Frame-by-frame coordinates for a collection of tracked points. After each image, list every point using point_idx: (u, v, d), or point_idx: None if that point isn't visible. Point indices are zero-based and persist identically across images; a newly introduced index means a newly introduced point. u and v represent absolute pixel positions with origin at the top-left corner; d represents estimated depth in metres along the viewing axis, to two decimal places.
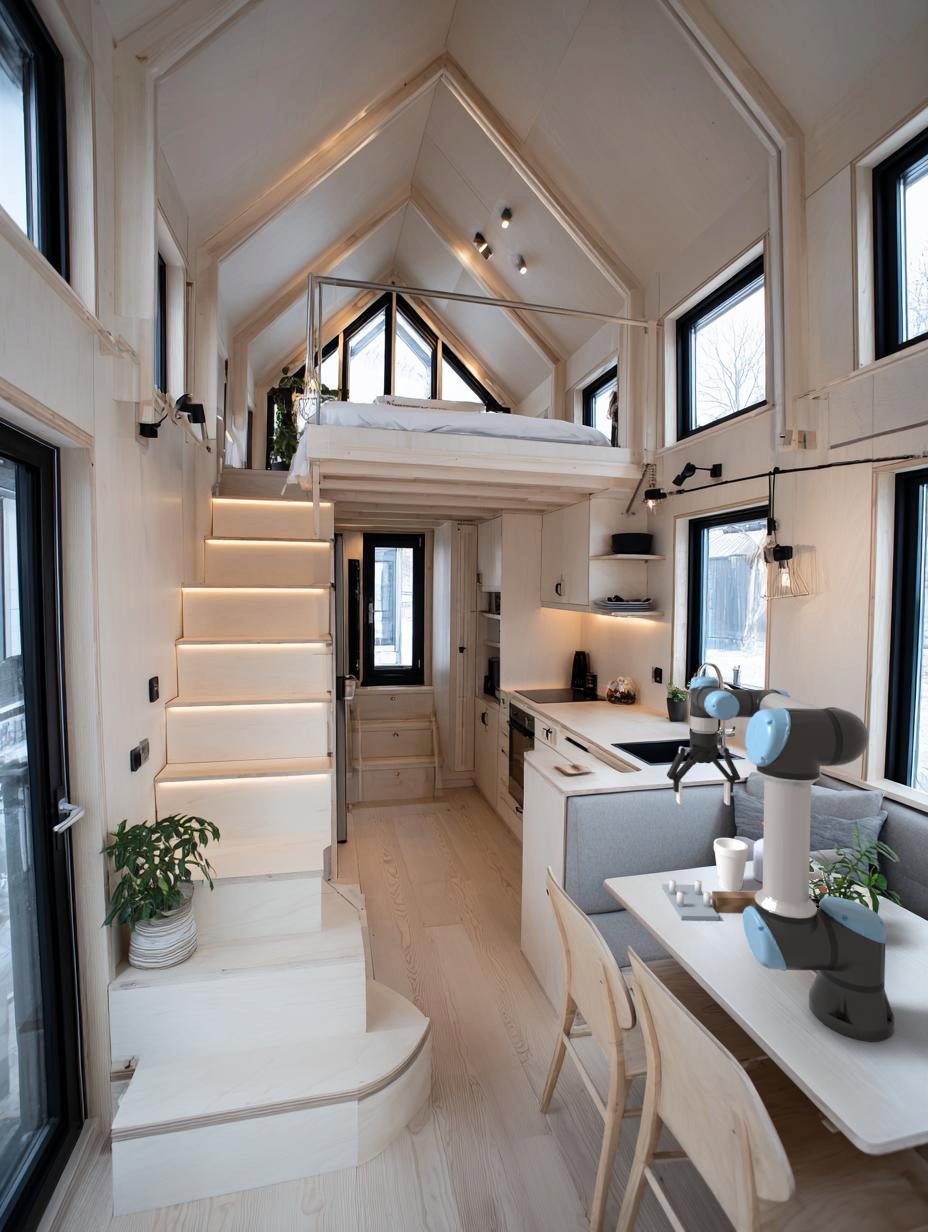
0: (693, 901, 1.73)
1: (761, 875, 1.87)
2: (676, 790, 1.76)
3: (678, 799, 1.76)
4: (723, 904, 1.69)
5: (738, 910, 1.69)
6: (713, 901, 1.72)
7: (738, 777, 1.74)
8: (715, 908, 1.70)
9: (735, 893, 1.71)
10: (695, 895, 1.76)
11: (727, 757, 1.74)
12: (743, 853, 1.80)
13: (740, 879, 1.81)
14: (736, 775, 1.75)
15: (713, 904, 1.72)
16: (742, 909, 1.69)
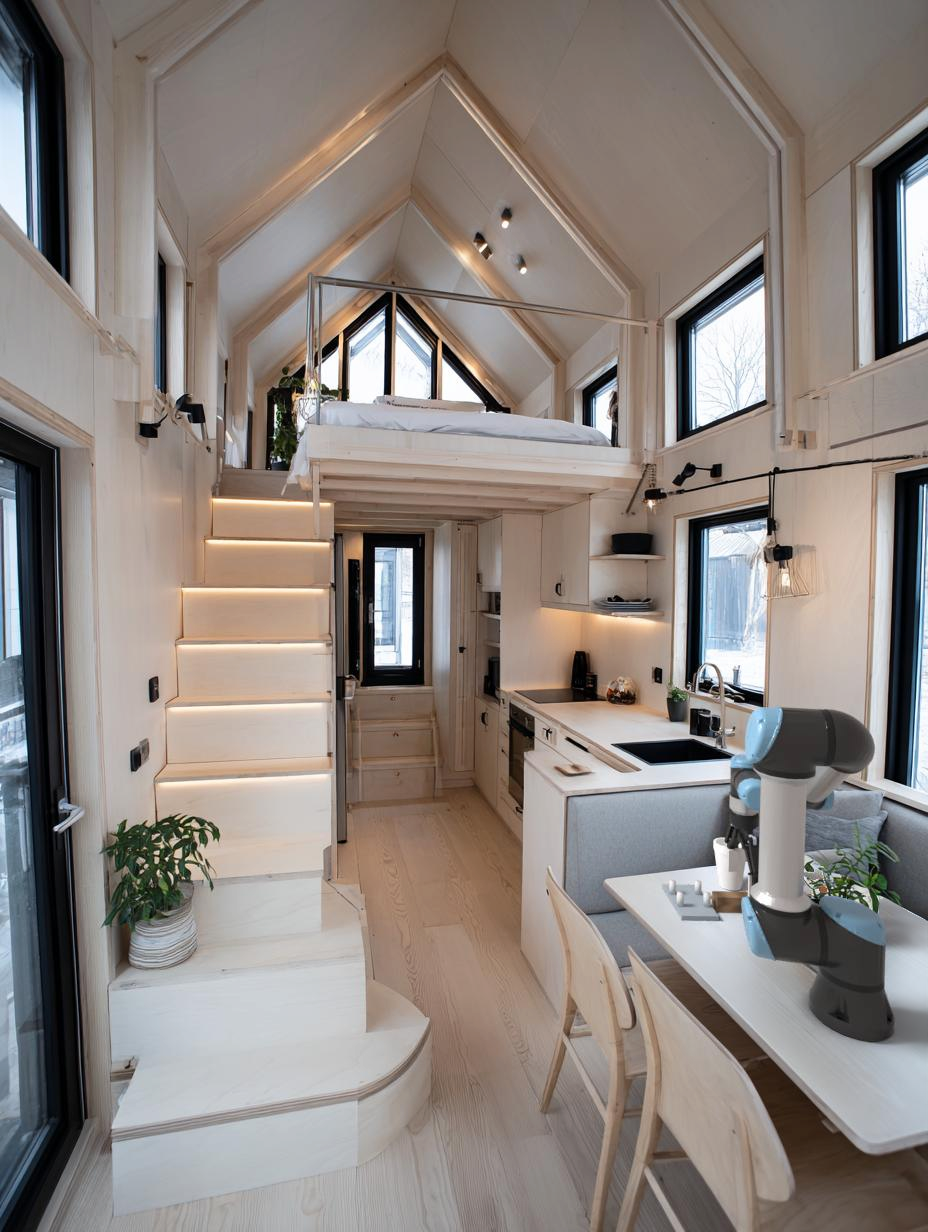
0: (693, 901, 1.73)
1: None
2: None
3: None
4: (723, 904, 1.69)
5: (738, 910, 1.69)
6: (713, 901, 1.72)
7: (754, 873, 1.62)
8: (715, 908, 1.70)
9: (735, 893, 1.71)
10: (695, 895, 1.76)
11: (749, 846, 1.64)
12: (742, 852, 1.81)
13: (740, 878, 1.82)
14: (753, 870, 1.62)
15: (713, 904, 1.72)
16: None
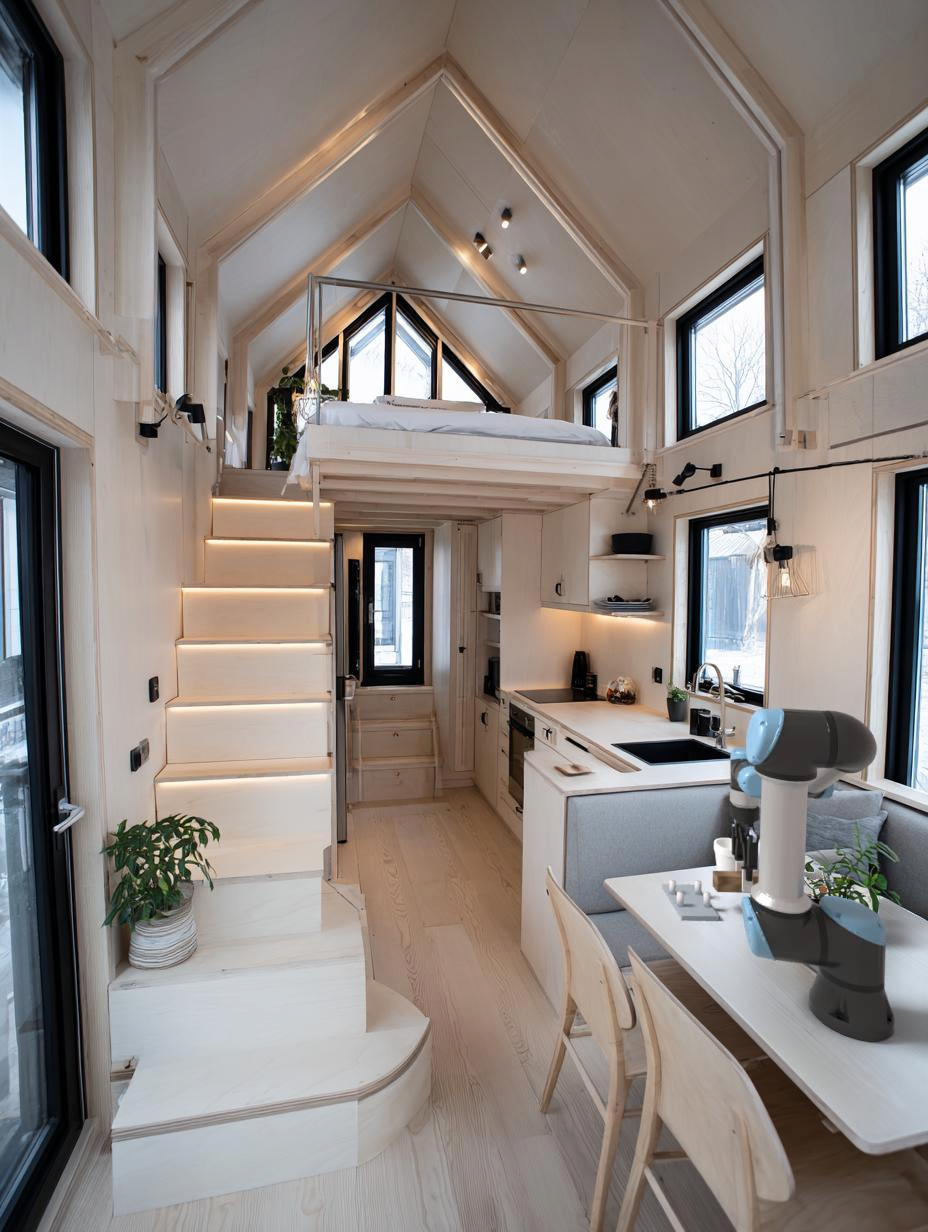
0: (693, 901, 1.73)
1: None
2: None
3: None
4: (724, 883, 1.68)
5: (739, 889, 1.68)
6: (714, 880, 1.71)
7: (747, 866, 1.65)
8: (716, 887, 1.69)
9: (736, 872, 1.71)
10: (695, 895, 1.76)
11: (748, 842, 1.65)
12: None
13: None
14: (747, 863, 1.65)
15: (714, 883, 1.71)
16: None
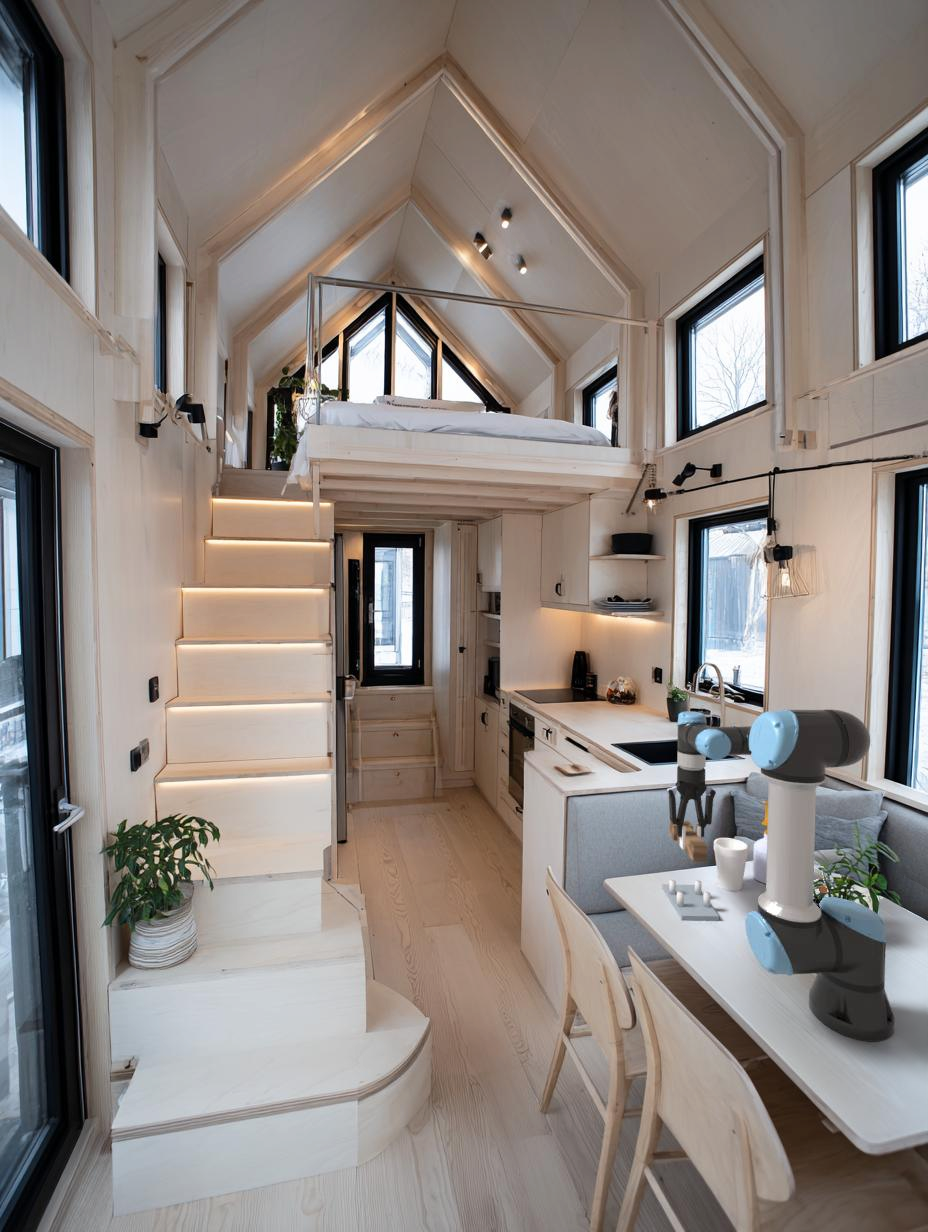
0: (693, 901, 1.73)
1: (761, 875, 1.87)
2: (679, 835, 1.73)
3: (681, 844, 1.73)
4: None
5: None
6: (697, 854, 1.66)
7: (709, 822, 1.72)
8: (702, 858, 1.66)
9: (690, 836, 1.72)
10: (695, 895, 1.76)
11: (710, 799, 1.72)
12: (743, 853, 1.80)
13: (740, 879, 1.81)
14: (709, 819, 1.72)
15: (697, 857, 1.66)
16: None
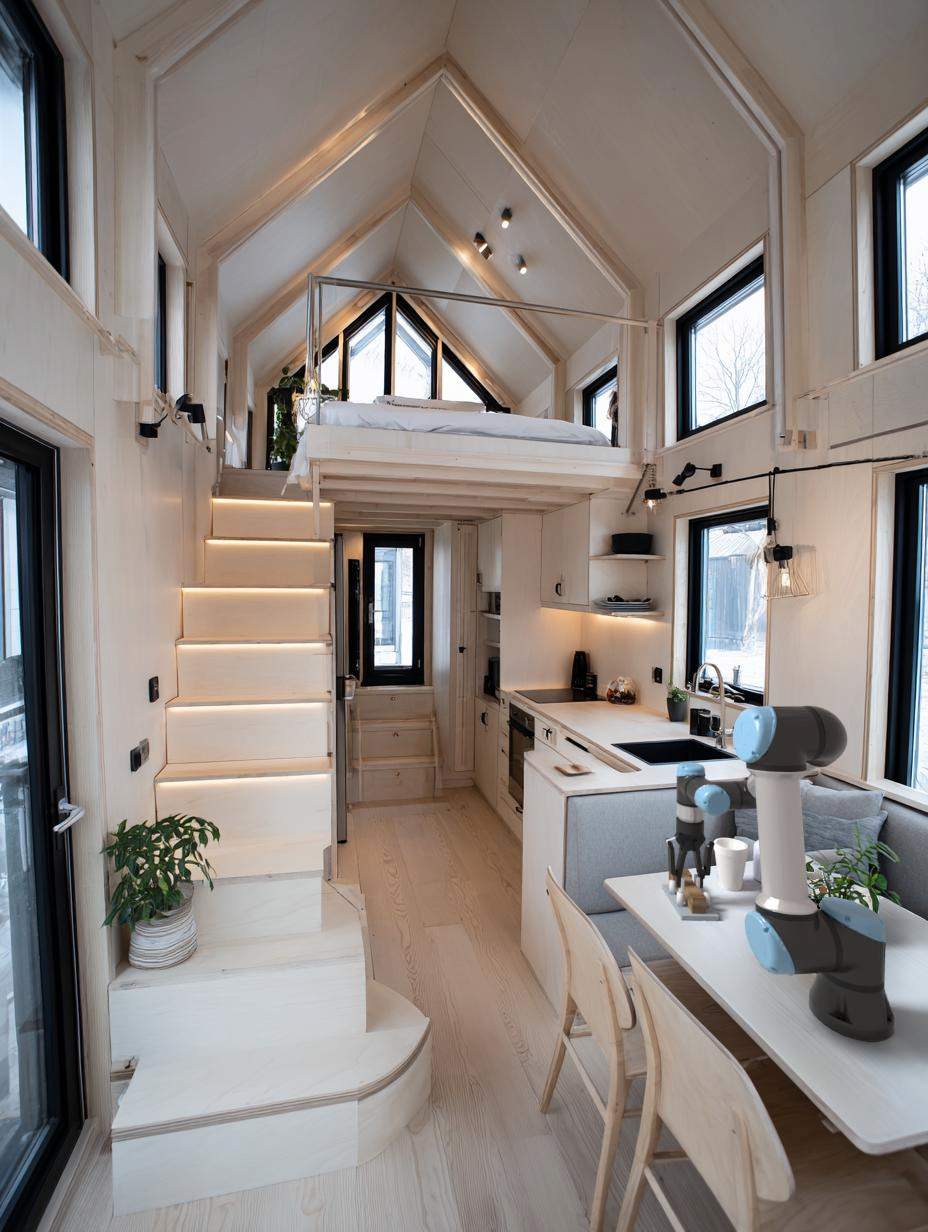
0: None
1: None
2: (678, 886, 1.74)
3: None
4: None
5: None
6: (696, 906, 1.66)
7: (708, 873, 1.73)
8: (701, 911, 1.66)
9: (689, 887, 1.72)
10: None
11: (709, 850, 1.72)
12: (743, 853, 1.80)
13: (740, 879, 1.81)
14: (708, 870, 1.73)
15: (696, 909, 1.66)
16: None
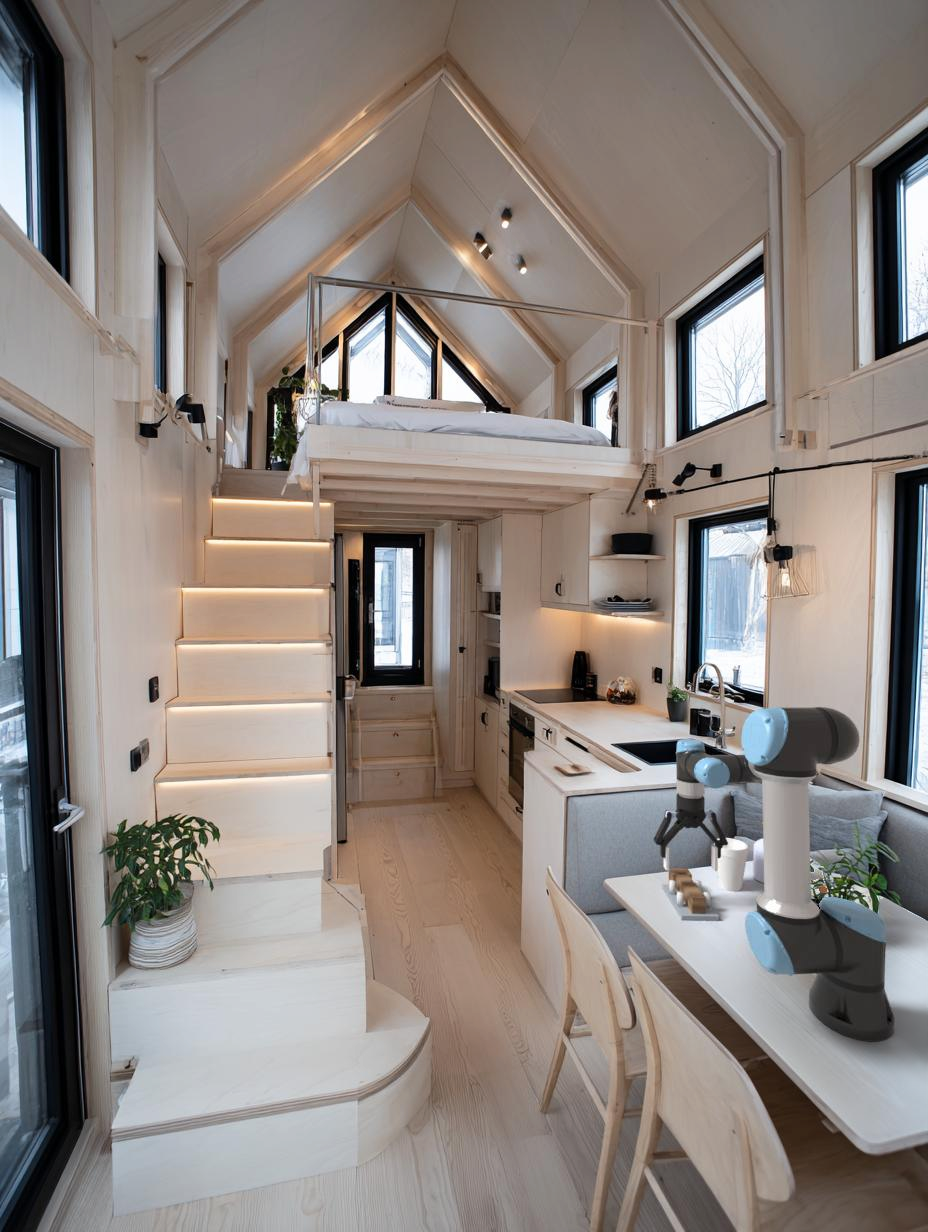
0: None
1: (761, 875, 1.87)
2: (663, 855, 1.73)
3: (665, 865, 1.73)
4: None
5: None
6: (696, 906, 1.66)
7: (726, 842, 1.72)
8: (701, 911, 1.66)
9: (689, 887, 1.72)
10: None
11: (714, 822, 1.72)
12: (743, 853, 1.80)
13: (740, 879, 1.81)
14: (724, 840, 1.72)
15: (696, 909, 1.66)
16: None
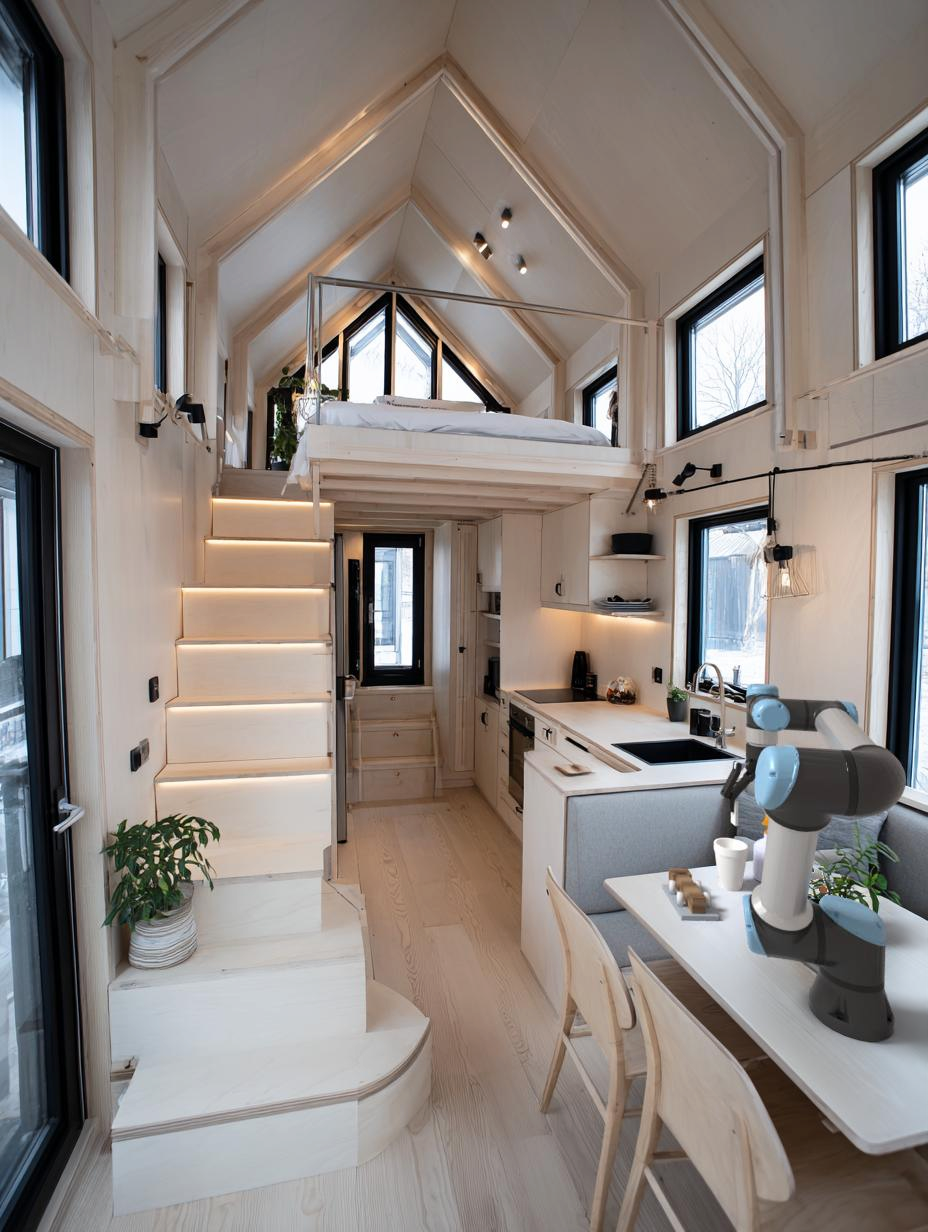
0: None
1: (761, 875, 1.87)
2: (731, 810, 1.58)
3: (733, 820, 1.59)
4: None
5: None
6: (696, 906, 1.66)
7: None
8: (701, 911, 1.66)
9: (689, 887, 1.72)
10: None
11: None
12: (743, 853, 1.80)
13: (740, 879, 1.81)
14: None
15: (696, 909, 1.66)
16: None
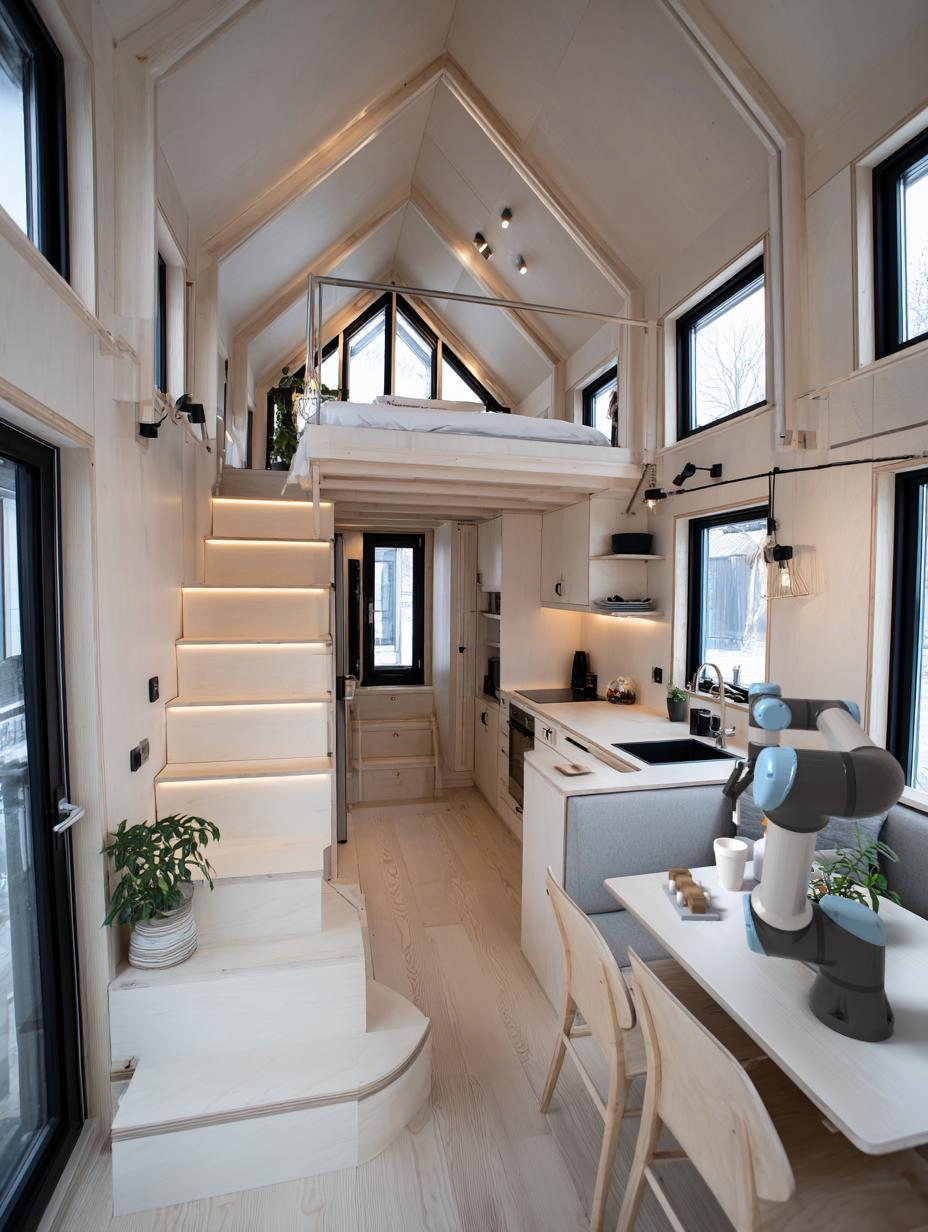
0: None
1: (761, 875, 1.87)
2: (733, 809, 1.58)
3: (735, 819, 1.59)
4: None
5: None
6: (696, 906, 1.66)
7: None
8: (701, 911, 1.66)
9: (689, 887, 1.72)
10: None
11: None
12: (743, 853, 1.80)
13: (740, 879, 1.81)
14: None
15: (696, 909, 1.66)
16: None
